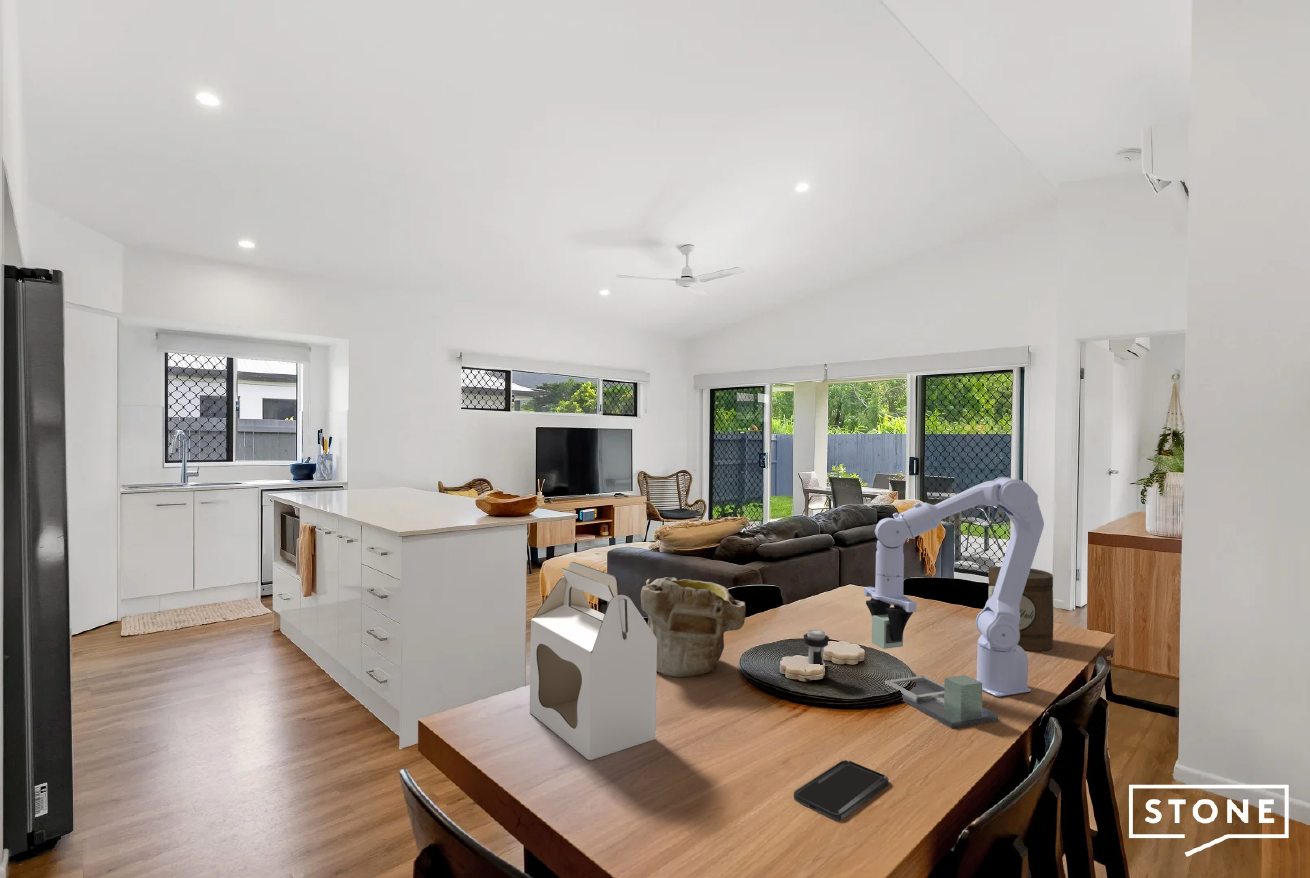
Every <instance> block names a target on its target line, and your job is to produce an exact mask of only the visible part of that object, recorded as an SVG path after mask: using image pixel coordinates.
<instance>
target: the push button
mask: <svg viewBox="0 0 1310 878" xmlns="http://www.w3.org/2000/svg"><path fill="white" fill-rule="evenodd" d="M803 639H804V644H806V645H807V647H808V656H807V658H808V659H807V660H808V663H809V664H820V665H825V661H824V652H825V651H824V650H825V649H824V648H825V647H827V646H829V641H830V637H829V636H828V635H826V633H825V631H823V630H820V629H810V630H808V631H807V633H804V634H803ZM808 663H807V664H808ZM828 670H829V667H828V666H826V665H825V677H828V674H829V673H828Z"/></svg>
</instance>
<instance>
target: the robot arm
mask: <svg viewBox="0 0 1310 878" xmlns="http://www.w3.org/2000/svg"><path fill="white" fill-rule="evenodd" d="M1038 499H1039V495H1038V494H1037V492H1035V490H1034V489H1033V488H1032V487H1031V485H1030V484H1028V483H1027V482H1026V481H1024V480H1021V479H1018V478H1017V479H1016V478H1014V479H1013V478H1010V477H1008V476H998V477H997V478H996V477H995V479H993V480H988V481H987V480H986V481H984V482H981V483H979V484H976V485H974V486H971V487H970V488H967V489H965V490H963V491H961V492H960V493H957V494H955V495H953V496H951V497H949V498H947V499H944V500H942V501H940V502H939V503H936V504H931V503H929V502H922V503H920V502H918V501H917V502H915V503H913V507H912V508H909V509H907V510H905V511H902V512H900V513H898V512H894V513H893V514H892V516H893V518H892V517H885V518H882V519H880V520H879V521H878V523H877V524H876V526H875V529H874V534H875V537H876V539H877V541H876V542H877V543H876V551H875V584H874V585H875V586H874V587H873V586H864V587H863V596H864V597H870V599H867V600H866V601H865V606H867V608H868V610H869V613H870V616H871V617H872V616H874V615H885V614H888V618H889V623H890V636H891V640H892V641H900V640H901V638H902V635H903V636H904V631H905V629H906V628H905V627H906V625H907V623H908V621H909V619H910V618H911V616H912V615H913V613H916V612H917V602H916V601H914V600H912V599H910V598H909V597H908V596H905V595H904V579H905V578H904V577H905V576H904V574H905V573H904V571H905V568H904V567H905V554H904V544H905V543H906V542H907V539H913V538H916V537H918V536H920V535H922V534H925V533H927V532H929V531H932V530H934V529H938V527H940V524H941V521H942V520H943V519H945V518H947V517H950V516H953V515H955V514H958V513H960V512H964V511H966V510H968V509H969V510H970V509H972V508H974V507H977V506H989V507H998V508H1000V509H1001V510H1002V511H1003V512H1005V515H1006V516H1007V517H1008V518H1009V520H1010V521H1011V522H1012V524H1013V527H1012V531H1011V534H1010V538H1009V541H1008V544H1007V547H1006V550H1005V553H1004V557H1003V560H1002V564H1001V566H1000V567H1001V569H1000V572H999V576H998V579H997V582H996V585H995V588H994V592H993V595H992V596H991V597H990V598H989V599H988V598H987V601H986V602H985V606H984V607H983V608H982V610H981V611H980V612H979V613H978V614H977V616H976V619H975V627H976V629H977V631H978V632H979V633H980V636H979V637H978V639H977V651H976V652H977V654H976V655H977V656H976V657H977V659H976V678H975V679H976V680H978V681H980V682H982V691H983V692H985V693H989V694H991V695H992V696H993V697H1006V696H1009V695H1010V696H1012V695H1018V694H1023V693H1029V692H1031V691H1032V689H1031V687H1028V681H1029V679H1028V678H1029V677H1028V676H1029V673H1028V672H1029V658H1028V654H1027V653H1026V650H1023V648H1022V647H1020V646H1019V645H1017V644H1018V642H1019V639H1020V632H1019V622H1020V612H1019V604H1020V601H1021V598H1022V594H1023V591H1024V588H1025V585H1026V582H1027V578H1028V575H1029V572H1030V569H1032V566H1033V562H1034V559H1035V556H1036V552H1037V550H1038V546H1039V543H1040V540H1041V537H1042V533H1043V530H1044V526H1045V521H1044V517H1043V515H1042V511H1041V508H1040V505H1039V502H1038V501H1039V500H1038Z"/></svg>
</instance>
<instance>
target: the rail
mask: <svg viewBox="0 0 1310 878" xmlns="http://www.w3.org/2000/svg"><path fill="white" fill-rule="evenodd" d="M976 679H977V678H973V677H971V676H969V675H967V674H963V675H956V676H949V677H944V684H942V683H940V682H938V681H936V680H933V678H930V677H928V676H926V675H919V676H917V675H916V676H910V677H904V678H896V679H889V680H885V684H887V685H889V686H892V687H893V688H896V689H898V690H900V691H901V693H902V694H903V695H902V698H903V700H901V701H902V702H904V703H906V704H907V705H909V706H911V707H913V708H915V709H916V710H918V711H920V712H922V713H924V714H926V715H928V716H929V717H930V718H933V719H934V720H936V721H938V722H939V723H942V724H943V725H945V726H947V727H948V728H951V729H956V728H962V727H963V728H964V727H967V726H973V725H979V724H985V723H989V722H991V723H992V722H995V721H997V722H998V721H999V714H997V713H995V712H994V711H992V710H990V709H987V708H986V707H983V690H982V682H980V681H978V680H976ZM907 681H914V682H917V683H916V687H913V688H912V689H911V690H910V691H908V690H906V689H905V688H903V687H901V686H899V685H897V684H898V683H901V682H907Z"/></svg>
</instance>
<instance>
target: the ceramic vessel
mask: <svg viewBox="0 0 1310 878" xmlns="http://www.w3.org/2000/svg"><path fill="white" fill-rule="evenodd" d="M645 583H646V585H644V586H642V588H641V591H640V601H641V610H642V611H643V612H644V613H645V614H646V615H647V625H648V626H649V628H650V629H651V631H652V632H653V634H654V635H655V637H657V672H658V673H660V674H662V675H664V676H668V677H674V678H686V677H692V676H697V675H698V676H699V675H703V674H704V675H705V674H709V673H713V672H714V670H715V669H716V667H717V665H718V663H719V661H720V659H721V657H722V654H723V651H724V649H725V640H724V639H725V637H724V634H725V632H730V631H732V632H733V631H738V630H740V629H742V628H743V626H744V625H745V620H746V612H747V607H746V602H745V601H741V600H737V599H734V597H733V596H732V595H731V593H730V592H729V589H728V588H726V587H725V586H724V585H721V584H718V583H715V582H712V581H702V580H693V579H687V578H683V579H679V580H678V579H677V577H668V576H667V577H666V576H665V577H663V578H656V579H655V580H653V581H652V579H651V578H648V579H647V580H646V581H645Z"/></svg>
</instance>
